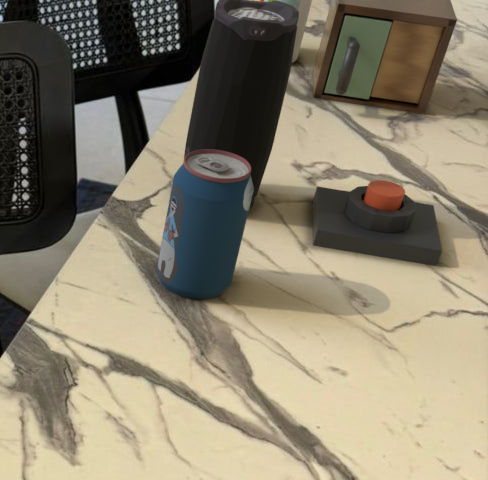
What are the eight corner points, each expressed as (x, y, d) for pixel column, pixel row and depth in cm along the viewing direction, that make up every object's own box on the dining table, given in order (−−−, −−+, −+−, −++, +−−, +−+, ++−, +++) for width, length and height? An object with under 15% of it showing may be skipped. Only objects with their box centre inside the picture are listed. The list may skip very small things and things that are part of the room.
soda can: (242, 286, 95) (273, 164, 87) (204, 315, 91) (232, 190, 83) (180, 259, 98) (204, 138, 90) (139, 285, 94) (161, 162, 86)
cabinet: (417, 90, 137) (449, -5, 129) (423, 118, 129) (457, 19, 121) (312, 74, 138) (336, -21, 131) (311, 101, 131) (338, 3, 123)
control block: (426, 224, 108) (439, 188, 105) (434, 270, 100) (449, 233, 98) (311, 205, 109) (321, 169, 106) (311, 249, 102) (322, 213, 99)
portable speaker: (253, 187, 111) (300, -3, 98) (258, 228, 104) (309, 30, 91) (175, 177, 112) (211, -13, 99) (174, 217, 105) (213, 18, 92)
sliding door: (368, 97, 130) (392, 20, 124) (370, 113, 126) (394, 34, 120) (324, 91, 131) (345, 14, 124) (324, 106, 127) (346, 28, 120)
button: (398, 199, 103) (404, 183, 102) (400, 215, 101) (406, 199, 100) (362, 193, 104) (367, 177, 103) (363, 209, 101) (369, 193, 100)
